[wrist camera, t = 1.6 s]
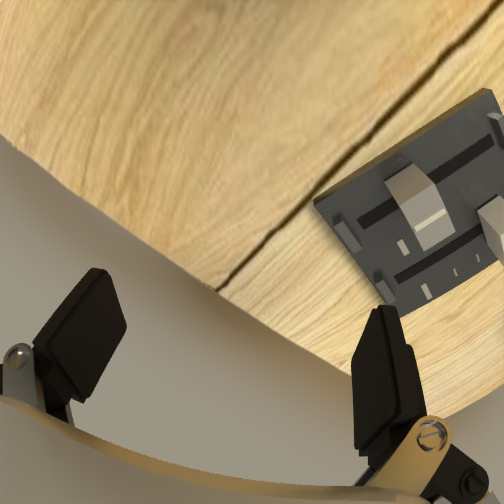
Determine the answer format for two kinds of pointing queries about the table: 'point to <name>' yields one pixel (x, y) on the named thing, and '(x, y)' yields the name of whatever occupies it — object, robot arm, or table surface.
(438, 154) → the console
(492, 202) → the fader knob
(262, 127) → the table surface
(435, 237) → the fader
